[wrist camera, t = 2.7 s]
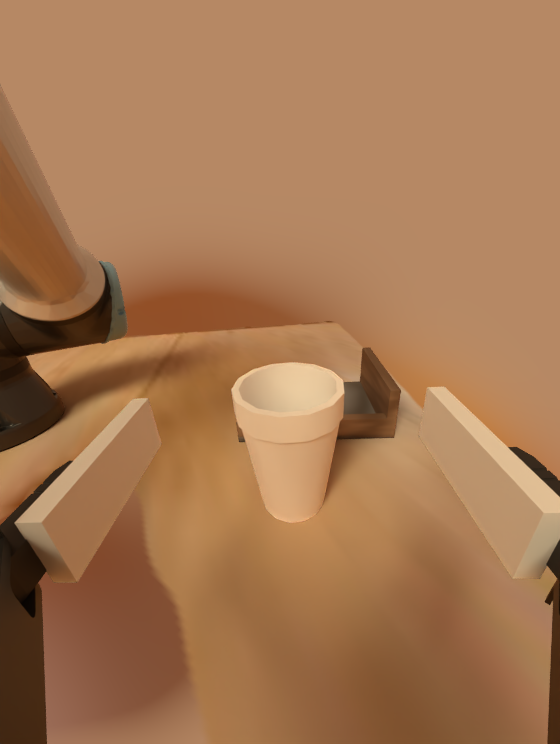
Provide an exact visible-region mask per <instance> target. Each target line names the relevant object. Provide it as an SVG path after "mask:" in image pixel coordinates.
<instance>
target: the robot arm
mask: <svg viewBox="0 0 560 744" xmlns="http://www.w3.org/2000/svg"><path fill="white" fill-rule="evenodd" d="M124 308H125V307H124V301H123V296H122V291H121V288H120V283H119V279H118V275H117V272H116V269H115V267H114V266H113V265H112V264H111V263H109V262H103V261H98V260H97V259H96V258H95V257H94V256H93V254H91V253H90V252H89V251H87V250H86V249H84V248H83V247H81V246H79V245H78V244H77V243H76V242H75V239H74V237H73V235H72V233H71V231H70V229H69V227H68V225H67V223H66V221H65V219H64V216H63V214H62V212H61V210H60V208H59V206H58V204H57V202H56V200H55V198H54V196H53V194H52V192H51V190H50V187H49V185H48V183H47V181H46V179H45V177H44V175H43V173H42V171H41V169H40V166H39V164H38V163H37V160H36V158H35V156H34V154H33V152H32V150H31V148H30V146H29V144H28V141H27V140H26V137H25V135H24V133H23V131H22V129H21V127H20V125H19V123H18V121H17V119H16V116H15V114H14V112H13V110H12V108H11V106H10V104H9V102H8V100H7V98H6V96H5V94H4V92H3V89H2V87H1V85H0V451H1V450H4V449H7V448H10V447H12V446H15V445H17V444H19V443H22V442H24V441H26V440H28V439H30V438H32V437H34V436H36V435H38V434H39V433H41V432H43V431H44V430H46V429H47V428H49V427H50V426H51V425H53V424H54V423H55V422H56V421H57V420H58V419H59V418H60V417H61V416H62V414H63V413H64V409H65V408H64V405H63V403H62V400H61V398H60V396H59V395H58V393H57V392H55V391H54V390H52V389H51V388H50V387H49V385H48V384H47V383H46V382H45V381H44V380H43V379H42V378H41V377H40V376H39V375H38V374H37V373H36V372H35V371H34V370H33V369H32V367H31V365H30V363H29V361H28V359H27V357H26V356H28V355H34V354H38V353H44V352H50V351H56V350H62V349H67V348H73V347H79V346H85V345H91V344H97V343H102V344H103V343H107V342H109V341H112V340H116V339H120V338H122V337H124V336H125V335H126V333H127V318H126V313H125V310H124ZM419 437H420V439H421V440H422V442H423V444H424V445H425V447H426V448H427V450H428V451H429V453H430V454H431V456H432V457H433V459H434V460H435V462H436V463H437V465H438V466H439V468H440V469H441V471H442V472H443V474H444V475H445V477H446V479H447V480H448V482H449V483H450V485H451V486H452V488H453V489H454V491H455V492H456V494H457V495H458V497H459V498H460V500H461V501H462V503H463V504H464V506H465V507H466V509H467V510H468V512H469V514H470V515H471V517H472V518H473V520H474V521H475V523H476V524H477V526H478V527H479V529H480V530H481V532H482V533H483V535H484V536H485V538H486V539H487V541H488V542H489V544H490V545H491V547H492V549H493V550H494V552H495V553H496V555H497V556H498V558H499V559H500V561H501V562H502V564H503V565H504V567H505V568H506V570H507V571H508V573H509V574H510V576H511V577H512V579H540V578H541V576H542V574H543V572H544V570H545V568H546V566H548V567H549V568H550V570H551V571H552V572H553V573H554V575H555V576H556V577H557V578H558V579H557V580H556V582H555V584H554V586H553V587H552V589H551V591H550V592H549V594H548V596H547V598H546V600H545V603H547V604H549V605H550V604H551V602H552V601H553V619H552V644H551V669H550V693H549V718H548V743H547V744H560V481H558V479H557V477H556V476H555V475H553V474H552V473H551V472H550V471H547V469H546V467H545V466H543V465H542V464H541V463H540V462H539V461H538V460H536V458H534V457H533V456H531V455H530V454H528V453H526V452H524V451H523V450H521V449H519V448H517V447H507V446H506V445H505V444H504V443H503V442H502V441H501V440H499V439H498V438H497V437H496V436H495V435H494V434H493V433H492V432H491V431H490V430H489V429H488V428H487V427H486V426H485V425H484V424H483V423H482V422H481V421H480V420H479V419H477V417H475V416H474V415H473V414H472V413H471V412H470V411H469V410H468V409H467V408H466V407H465V406H464V405H463V404H462V403H461V402H460V401H459V400H458V399H457V398H456V397H455V396H454V395H452V394H451V393H450V392H449V391H448V390H447V389H446V388H445V387H428V388H427V392H426V398H425V403H424V409H423V414H422V420H421V425H420V431H419ZM161 444H162V443H161V440H160V436H159V433H158V430H157V426H156V423H155V419H154V416H153V412H152V409H151V406H150V402H149V399H148V398H142V399H132V400H131V401H130V402H129V403H128V404H127V405H126V407H125V408H124V409H123V410H122V411H121V412H120V413H119V414H118V415H117V416H116V417H115V418H114V419H113V420H112V421H111V422H110V423H109V424H108V425H107V426H106V427H105V429H104V430H103V431H102V432H101V433H100V434H99V435H98V436H97V437H96V438H95V439H94V440H93V441H92V442H91V443H90V444H89V445H88V446H87V447H86V448H85V449H84V450H83V452H82V453H81V454H80V455H79V456H78V457H77V458H76V459H75V460H74V461H68V462H67V463H65V464H64V465H62V466H61V467H59V468H58V469H56V470H55V471H54V472H53V473H52V474H51V475H50V476H49V477H48V478H47V479H46V480H45V481H44V482H43V484H41V485H40V486H39V487H38V488H37V489H36V490H35V491H34V493H33V494H31V495H30V496H29V497H28V498H27V499H26V500H25V501H24V502H23V503H22V504H21V505H20V506H19V507H18V508H17V509H16V510H15V511H14V512H13V513H12V514H11V515H10V516H9V517H8V518H7V519H6V520H5V521H4V522H3V523H2V524H1V525H0V744H47V735H46V705H45V677H44V676H45V675H44V647H43V617H42V591H41V588H40V585H39V584H38V582H39V580H40V579H41V578H42V576H43V575H44V574H45V572H47V573H48V575H49V576H50V578H51V579H52V581H53V582H54V583H77V582H78V581H79V579H80V578H81V576H82V574H83V573H84V571H85V569H86V568H87V566H88V564H89V563H90V561H91V559H92V558H93V556H94V554H95V553H96V551H97V550H98V548H99V546H100V544H101V543H102V541H103V540H104V538H105V536H106V535H107V533H108V531H109V530H110V528H111V527H112V525H113V523H114V522H115V520H116V518H117V517H118V515H119V513H120V512H121V510H122V508H123V507H124V505H125V503H126V502H127V500H128V499H129V497H130V495H131V494H132V492H133V490H134V489H135V487H136V485H137V484H138V482H139V480H140V479H141V477H142V476H143V474H144V472H145V471H146V469H147V467H148V466H149V464H150V462H151V461H152V459H153V457H154V456H155V454H156V453H157V451H158V449H159V448H160V446H161Z"/></svg>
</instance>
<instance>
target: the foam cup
mask: <svg viewBox="0 0 560 744" xmlns="http://www.w3.org/2000/svg"><path fill="white" fill-rule="evenodd" d="M231 392H232V399H233V406H234V413H235V416H236V420H237V423H238V426H239V427H240V428H241V429H242V432H243V435H244V439H245V442H246V445H247V449H248V452H249V455H250V459H251V462H252V465H253V469H254V472H255V476H256V479H257V482H258V486H259V489H260V492H261V496H262V499H263V502H264V505H265V508H266V510H267V511H268V512H269V513H270V514H271V515H272V516H273V517H274V518H275V519H278V520H282V521H285V522H288V523H294V522H303V521H306V520H307V519H309V518H311V517H313V516H314V515H316V514H317V513H318V511H319V509H320V508H321V506H322V505H323V500H324V497H325V493H326V488H327V483H328V478H329V473H330V468H331V463H332V458H333V453H334V448H335V443H336V438H337V433H338V428H339V424H340V421H341V420H342V418H343V412H344V384H343V380H342V379H341V378H340V377H339V376H338V375H336V374H335V373H334V372H333V371H332V370H329V369H326V368H323V367H320V366H317V365H314V364H305V363H296V362H291V363H278V364H271V365H267V366H263V367H260V368H256V369H253V370H251V371H250V372H248V373H246V374H245V375H243V376H241V377H239V378H238V379H237V381H236V383H235V384H234V386H233V388H232V389H231Z"/></svg>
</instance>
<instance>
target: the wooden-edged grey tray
mask: <svg viewBox="0 0 560 744" xmlns="http://www.w3.org/2000/svg"><path fill="white" fill-rule="evenodd" d="M343 384H344V412H343V418H342V420H341V421H340V424H339V428H338V433H337V438H336V439H360V438H394V434H395V427H396V420H397V413H398V406H399V400H400V393H401V390H400V388H399V387H398V386H397V384H396V383H395V381H394V380H393V379H392V377H391V376H390V375H389V373H388V372H387V370H386V369H385V368H384V366H383V365H382V364H381V362H380V361H379V359H378V358H377V357H376V355H375V354H374V353H373V351H372V350H371V348H363V349H362V362H361V376H360V382H343ZM236 424H237V431H238V438H239V442H245V439H244V435H243V432H242V429H241V428H240V427H239V426H238V423H236Z"/></svg>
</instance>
